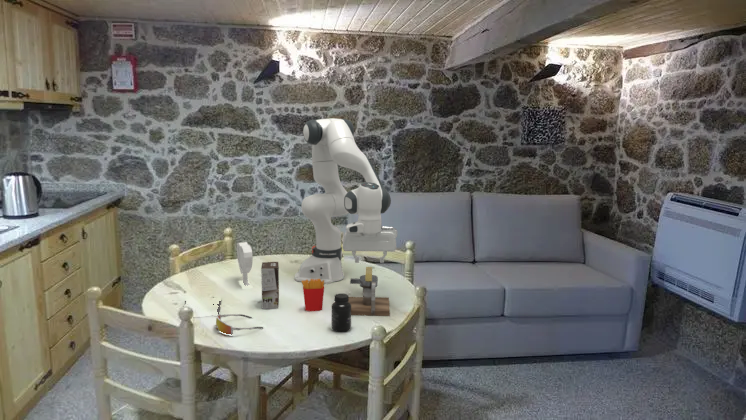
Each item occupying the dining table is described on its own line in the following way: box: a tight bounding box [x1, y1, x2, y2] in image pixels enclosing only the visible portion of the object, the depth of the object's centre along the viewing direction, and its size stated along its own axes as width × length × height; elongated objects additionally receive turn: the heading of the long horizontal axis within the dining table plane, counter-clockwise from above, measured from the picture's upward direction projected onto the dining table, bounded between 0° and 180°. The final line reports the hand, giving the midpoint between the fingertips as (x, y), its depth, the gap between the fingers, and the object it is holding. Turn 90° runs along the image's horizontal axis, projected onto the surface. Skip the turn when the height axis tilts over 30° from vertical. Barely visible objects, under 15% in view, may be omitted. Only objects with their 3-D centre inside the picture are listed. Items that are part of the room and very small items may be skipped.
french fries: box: [301, 279, 325, 312], centre depth 188 cm, size 8×4×12 cm, turn 99°
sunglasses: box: [215, 313, 264, 335], centre depth 172 cm, size 14×15×5 cm
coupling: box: [349, 266, 379, 289], centre depth 189 cm, size 9×10×6 cm
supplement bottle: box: [330, 293, 352, 333], centre depth 171 cm, size 7×7×12 cm
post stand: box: [348, 282, 391, 317], centre depth 190 cm, size 14×16×12 cm
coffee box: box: [260, 261, 280, 310], centre depth 192 cm, size 9×6×16 cm
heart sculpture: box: [236, 241, 253, 286], centre depth 214 cm, size 16×5×18 cm, turn 26°
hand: (369, 262), depth 187 cm, fingers open, 8 cm apart
